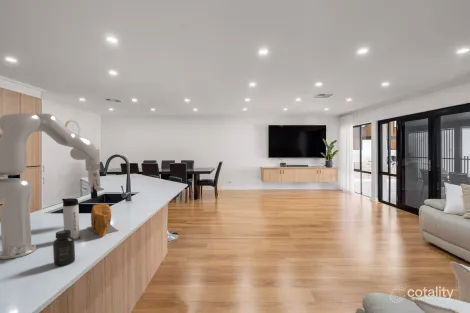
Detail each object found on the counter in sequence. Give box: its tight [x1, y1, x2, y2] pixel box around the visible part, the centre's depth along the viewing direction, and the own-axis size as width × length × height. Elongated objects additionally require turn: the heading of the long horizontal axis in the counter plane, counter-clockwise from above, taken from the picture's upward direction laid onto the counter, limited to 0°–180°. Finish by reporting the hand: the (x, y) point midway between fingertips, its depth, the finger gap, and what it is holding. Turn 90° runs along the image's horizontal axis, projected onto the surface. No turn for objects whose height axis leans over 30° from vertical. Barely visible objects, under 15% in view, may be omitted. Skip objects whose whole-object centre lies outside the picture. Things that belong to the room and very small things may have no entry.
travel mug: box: [61, 197, 81, 241], centre depth 124 cm, size 6×7×20 cm
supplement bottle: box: [52, 229, 76, 267], centre depth 98 cm, size 7×7×12 cm
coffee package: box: [90, 203, 112, 238], centre depth 135 cm, size 10×12×22 cm
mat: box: [87, 224, 119, 237], centre depth 139 cm, size 19×11×1 cm, turn 40°
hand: (94, 198), depth 152 cm, fingers closed
